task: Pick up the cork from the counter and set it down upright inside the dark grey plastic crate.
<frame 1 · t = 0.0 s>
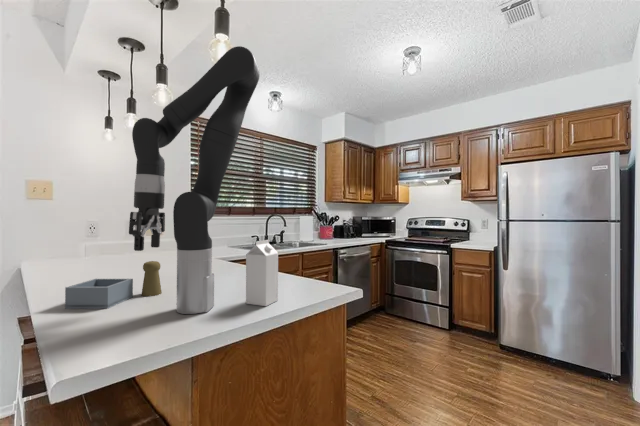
hand: (147, 248, 87), 17 cm above the counter, tool pointing down, fingers open, 8 cm apart
milk carton: (262, 302, 94), on the counter
crate: (101, 302, 94), on the counter
cork: (151, 294, 104), on the counter
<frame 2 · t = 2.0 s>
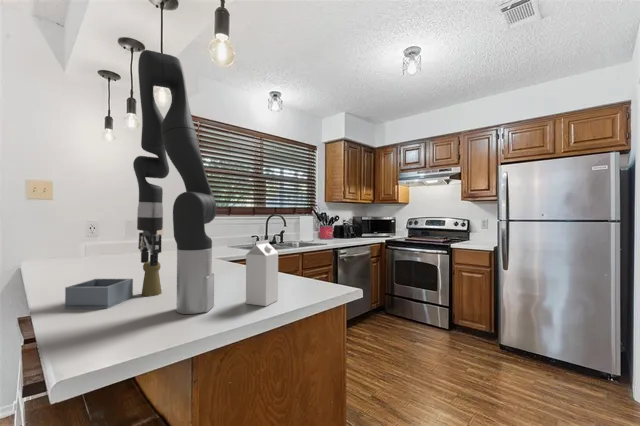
hand: (149, 264, 103), 10 cm above the counter, tool pointing down, fingers open, 8 cm apart
nothing on the counter moved.
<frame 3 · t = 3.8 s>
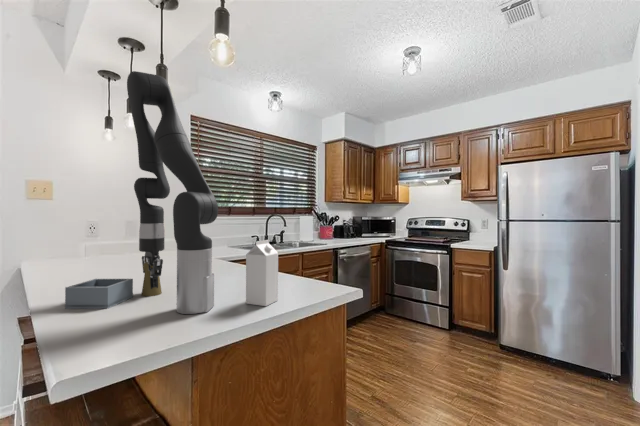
hand: (151, 287, 104), 2 cm above the counter, tool pointing down, fingers closed on cork, 4 cm apart
cork: (151, 294, 104), on the counter, touching gripper
everything else where it was.
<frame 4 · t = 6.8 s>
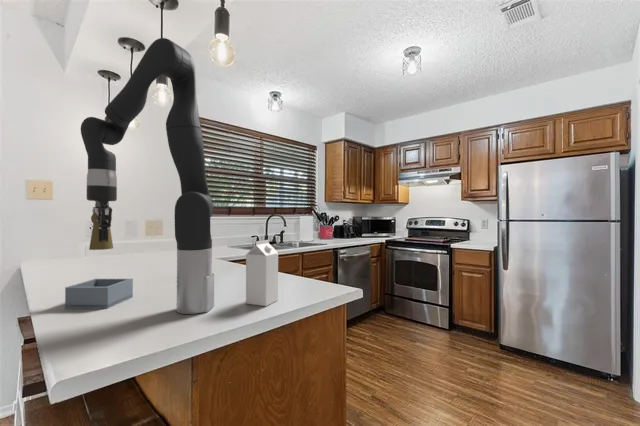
hand: (101, 241, 94), 19 cm above the counter, tool pointing down, fingers closed on cork, 4 cm apart
cork: (101, 249, 94), point 16 cm above the counter, touching gripper
everything else where it was.
when the fingers open (5 cm above the counter, at t = 10.0 s): cork drops 1 cm, resting on crate.
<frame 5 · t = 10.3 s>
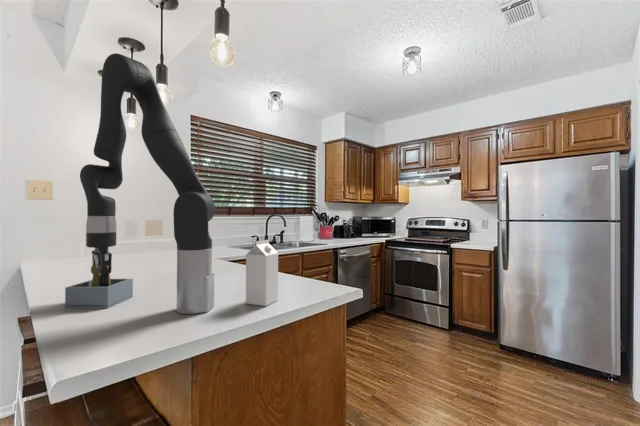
hand: (101, 285, 94), 5 cm above the counter, tool pointing down, fingers open, 6 cm apart
cork: (101, 299, 94), point 1 cm above the counter, touching crate
everything else where it was.
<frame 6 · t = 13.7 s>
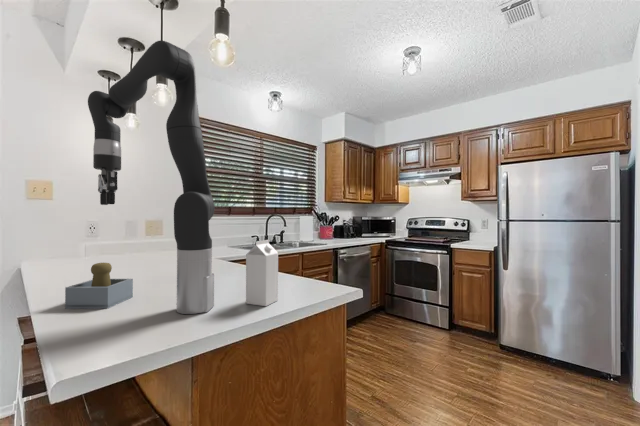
hand: (107, 204, 101), 30 cm above the counter, tool pointing down, fingers open, 8 cm apart
nothing on the counter moved.
at the end: cork 0.2 cm off-centre on the crate, point 0.8 cm above the crate's base; cork tilted 0°; the gripper is holding nothing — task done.
